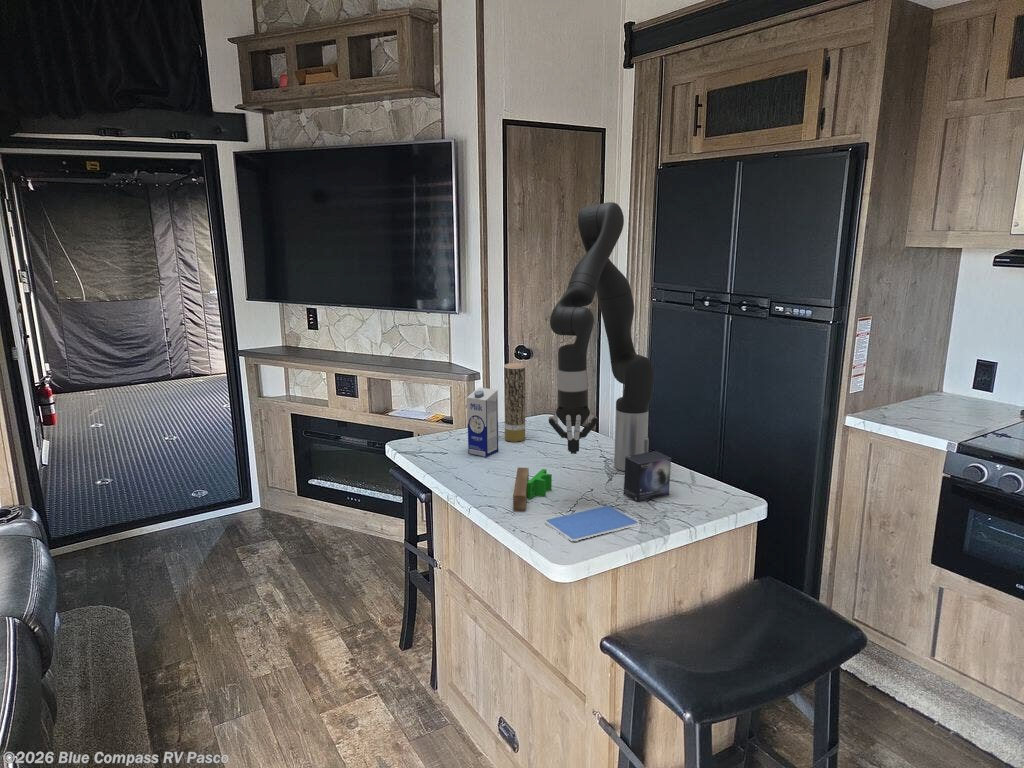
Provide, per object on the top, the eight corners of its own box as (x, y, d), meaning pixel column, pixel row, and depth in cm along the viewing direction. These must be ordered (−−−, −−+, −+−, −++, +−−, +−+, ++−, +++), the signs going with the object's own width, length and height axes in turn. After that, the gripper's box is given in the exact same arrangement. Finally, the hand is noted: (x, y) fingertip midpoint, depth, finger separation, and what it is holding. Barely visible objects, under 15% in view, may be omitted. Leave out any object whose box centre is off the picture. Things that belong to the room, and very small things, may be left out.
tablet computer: (608, 508, 169) (609, 503, 169) (641, 527, 158) (641, 522, 158) (542, 524, 160) (542, 519, 159) (572, 546, 149) (572, 540, 149)
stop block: (528, 481, 186) (528, 467, 185) (525, 510, 166) (525, 495, 165) (517, 481, 186) (517, 467, 185) (513, 510, 166) (513, 495, 166)
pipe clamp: (540, 501, 173) (540, 484, 172) (526, 499, 174) (526, 482, 173) (555, 486, 183) (555, 470, 182) (542, 484, 184) (542, 468, 183)
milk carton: (498, 451, 211) (498, 389, 207) (486, 457, 205) (485, 393, 201) (480, 448, 215) (479, 386, 210) (467, 453, 209) (466, 390, 205)
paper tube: (528, 438, 225) (528, 364, 219) (520, 443, 219) (519, 367, 213) (510, 435, 228) (509, 362, 222) (501, 441, 222) (500, 366, 216)
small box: (637, 503, 171) (639, 463, 168) (622, 494, 176) (623, 456, 174) (670, 495, 176) (672, 457, 173) (654, 487, 181) (656, 449, 179)
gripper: (598, 382, 172) (598, 447, 176) (545, 383, 172) (547, 448, 176) (600, 389, 164) (600, 457, 168) (546, 391, 165) (547, 458, 169)
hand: (573, 452), depth 172 cm, fingers closed
